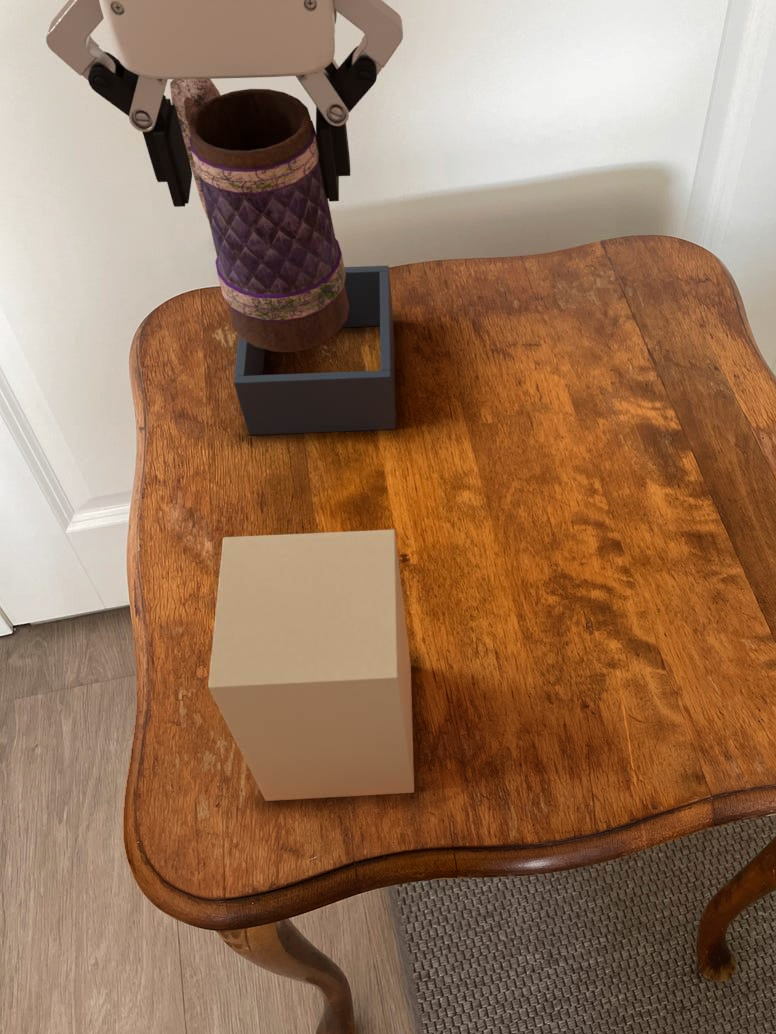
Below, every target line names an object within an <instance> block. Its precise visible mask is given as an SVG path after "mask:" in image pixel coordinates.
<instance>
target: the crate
mask: <svg viewBox="0 0 776 1034" xmlns="http://www.w3.org/2000/svg"><path fill="white" fill-rule="evenodd" d="M389 267H390V266H389V265H366V266H344V268H345V273H346V278H345V283H344V284H345V289H346V294H347V299H348V304H349V310H348V316H347V320H346V321H345V323H344V324H343V326H342V327H341V328H366V327H379V329H380V330H379V331H380V332H379V333H380V334H379V335H380V336H379V338H380V339H379V340H380V342H379V343H380V350H379V351H380V370H356V371H332V372H329V371H328V372H310V373H309V372H307V373H304V372H303V373H283V374H282V373H281V374H264V365H265V354H266V349H263V348H259V347H255V346H253V345H252V344H250V343H248V342H247V341H245V340H243V339H242V338H241V337H240V336H239V335H238V337H237V338H238V339H237V347H236V356H235V357H236V358H235V368H234V377H233V385H234V389H235V392H236V396H237V399H238V403H239V407H240V409H241V414H242V416H243V420H244V423H245V424H244V425H245V427H246V430H247V435H248V436H265V435H287V434H288V435H289V434H290V435H291V434H311V433H312V434H313V433H336V432H337V433H339V432H361V431H383V430H385V431H386V430H396V429H397V419H396V417H397V416H396V373H395V372H396V371H395V370H396V369H395V366H396V365H395V328H394V326H395V325H394V323H395V321H394V311H393V300H392V287H391V277H390V276H391V275H390V268H389Z"/></svg>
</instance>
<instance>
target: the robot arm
mask: <svg viewBox="0 0 776 1034" xmlns="http://www.w3.org/2000/svg"><path fill="white" fill-rule="evenodd" d="M337 14H340V16H342V17H343V18H345V20H347V21H349V22H350V23H351V24H352V25H353V26H355V27H356V28H357V29H359V30H360V31H361V32H362V33H363V34H364V35H363V36H362V38H361V41H360V43H359V44H358V45H357V46H355V48H353V50H351V52H350V53H349V54H348V55H347V57H346V58H345V59H344V61H343V62H342V63H341V64H340V65H338V63H337V61H336V60H335V59H334V58H335V53H336V52H335V51H336V39H335V38H336V37H335V36H336V23H337V17H338V15H337ZM103 20H104V24H105V27H106V31H107V34H108V38H109V40H110V43H111V46H112V48H113V51H114V53H115V56H116V57H115V56H114V55H113V54H111V53H110V52H109V51H108V52H107V51H103V49H101V48H100V44H98V43H97V42H96V41H95V40H94V39H93V38H92V36H91V34H92V33H93V32H94V30H95V29H96V28H97V27H98V26H99V25H100V24H101V22H103ZM403 29H404V28H403V19H402V17H401V15H400V14H399V13H398V11H396V10H395V9H394V8H392V7H391V6H389V5H388V4H387V3H386V2H385V1H384V0H68V1H67V2H66V3H65V4H64V5H63V7H62V8H61V9H60V10H59V12H58V13H57V14H56V15H55V17H54V18H53V19H52V20H51V22H50V25H49V28H48V31H47V34H46V37H45V39H46V40H45V41H46V45H47V47H48V48H49V49H50V51H51V52H52V53H54V55H56V56H57V57H58V58H59V59H61V60H62V61H63V62H64V63H65V64H66V65H67V66H69V67H70V68H71V69H72V70H73V71H74V72H76V74H78V76H80V77H81V76H82V77H83V78H84V79H86V80H87V81H88V84H89V86H90V89H92V90H93V91H94V92H95V93H96V94H98V95H99V97H101V98H103V99H105V101H107V102H109V104H111V105H113V106H114V107H115V108H116V109H118V110H119V111H121V112H122V113H124V115H126V116H127V117H128V120H129V123H130V124H131V125H132V127H133V128H134V129H135V130H137V131H139V132H141V133H142V135H143V139H144V142H145V146H146V149H147V152H148V156H149V159H150V163H151V166H152V170H153V173H154V177H155V179H156V181H157V183H166V184H167V187H168V191H169V194H170V197H171V201H172V204H173V207H175V208H181V207H184V208H185V207H186V205H187V204H189V202H190V195H191V187H192V181H193V172H192V168H191V164H190V161H189V157H188V153H187V149H186V145H185V142H184V138H183V134H182V130H181V126H180V122H179V118H178V114H177V110H176V107H175V105H172V100H171V98H167V96H166V95H165V91H166V87H167V84H168V80H174V79H211V80H213V79H214V80H216V79H217V80H220V79H249V78H250V79H251V78H281V77H295V78H296V79H297V80H298V82H299V83H300V85H301V86H302V88H303V89H304V91H305V92H306V93H307V95H308V96H309V98H310V99H311V101H312V102H313V104H314V105H315V131H316V136H317V144H318V151H319V158H320V166H321V173H322V179H323V184H324V189H325V194H326V198H327V199H328V203H330V202H339V201H340V177H351V157H350V148H349V139H348V138H349V137H348V130H347V122H348V120H349V117H350V113H351V111H353V109H354V108H355V107H356V106H357V105H358V104H359V102H360V101H361V100H362V99H363V98H364V96H365V95H366V94H367V93H368V92H369V91H370V90H371V88H372V87H373V86H374V85H375V84H376V82H377V78H378V76H379V74H380V72H381V71H382V70H383V69H384V68H385V66H387V63H389V61H390V59H391V58H392V56H393V55H394V53H395V52H396V51H397V49H398V48H399V46H400V44H401V43H402V41H403V39H404V30H403Z"/></svg>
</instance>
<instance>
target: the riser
mask: <svg viewBox="0 0 776 1034" xmlns="http://www.w3.org/2000/svg"><path fill="white" fill-rule="evenodd" d="M220 555H221V556H220V566H219V577H218V584H217V585H218V587H217V596H216V604H215V605H216V606H215V614H214V615H215V617H214V626H213V635H212V645H211V655H210V664H209V665H210V666H209V675H208V685H207V688H208V690H209V692H210V694H211V696H212V698H213V700H214V702H215V704H216V706H217V707H218V710H219V711H220V714H221V716H222V717H223V719H224V721H225V723H226V725H227V728H228V730H229V731H230V733H231V735H232V737H233V739H234V741H235V743H236V745H237V747H238V749H239V752H240V753H241V755H242V757H243V759H244V761H245V763H246V765H247V767H248V769H249V771H250V773H251V774H252V777H253V779H254V780H255V782H256V785H257V787H258V788H259V790H260V792H261V795H262V796H263V798H264V800H265V801H266V802H273V801H291V800H306V799H307V800H309V799H325V798H344V797H360V796H361V797H362V796H379V795H396V794H397V795H398V794H412V793H414V792H415V773H414V770H415V769H414V740H413V739H414V737H413V736H414V734H413V708H412V707H413V703H412V702H413V701H412V699H413V698H412V697H413V696H412V665H411V655H410V648H409V639H408V631H407V629H408V628H407V623H406V614H405V604H404V596H403V587H402V579H401V569H400V561H399V552H398V543H397V535H396V530H395V529H394V528H393V529H376V530H375V529H374V530H352V531H330V532H329V531H328V532H310V533H309V532H307V533H286V534H285V533H284V534H268V535H265V534H264V535H244V536H242V535H241V536H225V537H222V546H221V554H220Z"/></svg>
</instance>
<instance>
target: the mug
mask: <svg viewBox="0 0 776 1034" xmlns="http://www.w3.org/2000/svg"><path fill="white" fill-rule="evenodd" d="M171 80H172V81H170V82H169V86H170V99H171V105H175V107H176V110H177V114H178V118H179V122H180V126H181V130H182V134H183V138H184V142H185V145H186V149H187V153H188V157H189V161H190V165H191V169H192V176H193V179H194V182H195V185H196V189H197V192H198V196H199V200H200V203H201V206H202V208H203V210H204V213H205V216H206V218H207V220H208V223H209V228H210V233H211V236H212V240H213V246H214V249H215V253H216V254H215V255H216V259H215V262H214V263H215V267H216V273H217V277H218V282H219V286H220V290H221V294H222V298H223V299H224V300H225V301H226V303H227V306H228V311H229V315H230V319H231V323H232V328H233V330H234V331H235V333H236V334H237V335H238V337H239V336H240V337H241V338H242V339H243V340H245V341H247V342H248V343H250V344H252V345H253V346H255V347H259V348H263V349H265V351H266V350H267V351H270V352H275V353H293V352H300V351H305V350H309V349H312V348H314V347H317V346H319V345H321V344H324V343H326V341H328V340H329V339H330V338H332V337H333V336H335V334H337V333H338V332H339V331H340V330H341V328H343V327H342V326H343V324H344V323H345V321H346V320H347V316H348V310H349V304H348V299H347V294H346V289H345V284H344V283H345V278H346V273H345V268H344V267H345V264H344V258H343V253H342V249H341V246H340V243H339V240H338V239H337V238H336V234H335V229H334V224H333V219H332V214H331V213H332V212H331V210H330V209H331V208H330V204H329V203H330V202H329V199H327V198H326V194H325V189H324V184H323V179H322V173H321V166H320V158H319V151H318V144H317V136H316V127H315V125H314V121H313V120H312V119H311V115H310V111H309V108H308V107H307V105H305V104H304V103H303V102H302V101H301V100H300V99H299V98H297V97H295V96H293V95H291V94H289V93H287V92H285V91H280V90H275V89H270V88H246V89H238V90H233V91H230V92H226V93H224V94H220V91H219V89H218V88H217V87H216V85H215V83H214V82H213V80H212V79H171Z"/></svg>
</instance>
